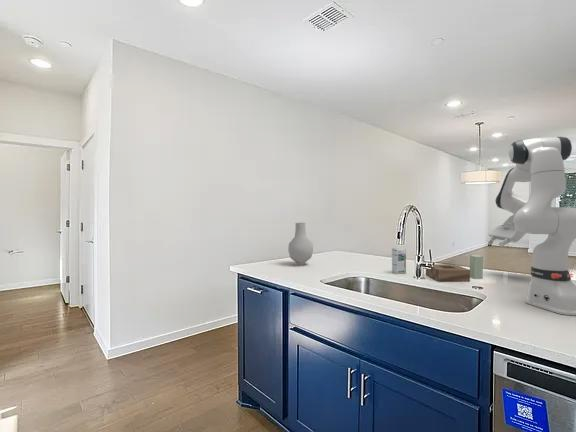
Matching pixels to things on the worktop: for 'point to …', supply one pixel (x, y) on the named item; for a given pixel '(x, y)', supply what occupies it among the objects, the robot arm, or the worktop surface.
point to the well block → (448, 273)
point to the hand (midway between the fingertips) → (494, 244)
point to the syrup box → (398, 260)
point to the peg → (476, 266)
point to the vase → (300, 246)
